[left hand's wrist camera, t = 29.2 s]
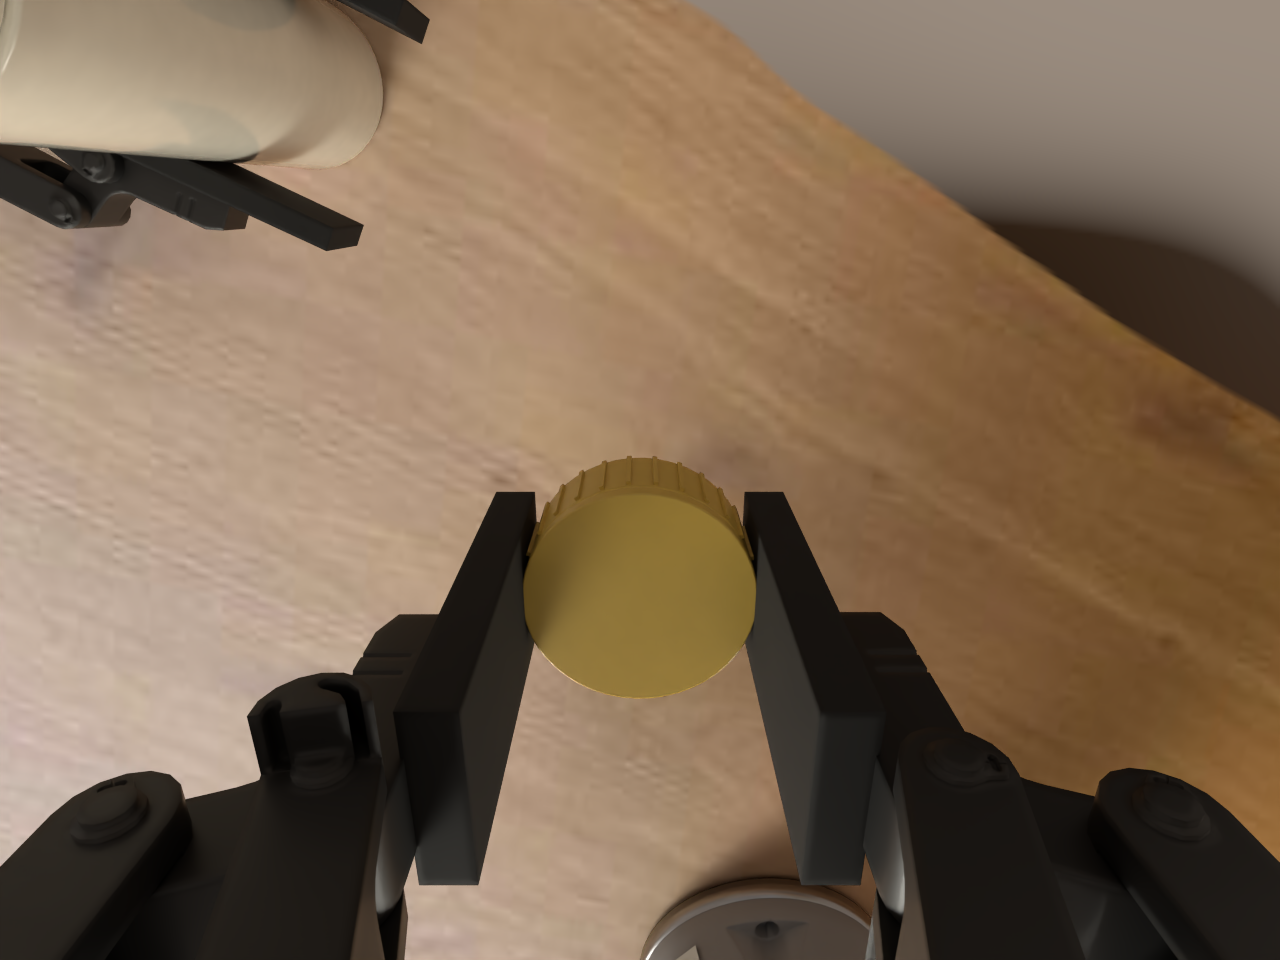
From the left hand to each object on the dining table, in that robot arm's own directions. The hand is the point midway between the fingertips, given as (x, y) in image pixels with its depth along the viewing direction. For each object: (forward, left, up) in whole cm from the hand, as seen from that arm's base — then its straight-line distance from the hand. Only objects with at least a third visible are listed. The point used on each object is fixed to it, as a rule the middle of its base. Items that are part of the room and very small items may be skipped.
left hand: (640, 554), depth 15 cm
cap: (0, 0, +2) cm, 2 cm away
